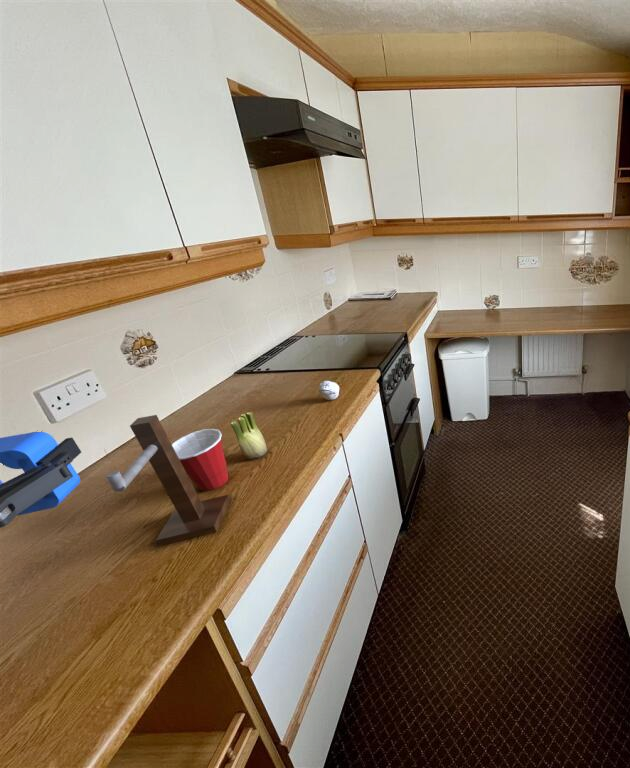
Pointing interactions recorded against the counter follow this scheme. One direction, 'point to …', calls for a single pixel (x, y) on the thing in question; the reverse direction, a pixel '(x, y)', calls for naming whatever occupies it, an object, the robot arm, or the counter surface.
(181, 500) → the hook stand
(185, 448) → the plastic cup
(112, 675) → the counter surface
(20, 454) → the blue rounded square frame
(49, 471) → the robot arm
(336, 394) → the white lumpy ball
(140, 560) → the counter surface
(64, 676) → the counter surface
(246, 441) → the fennel bulb
